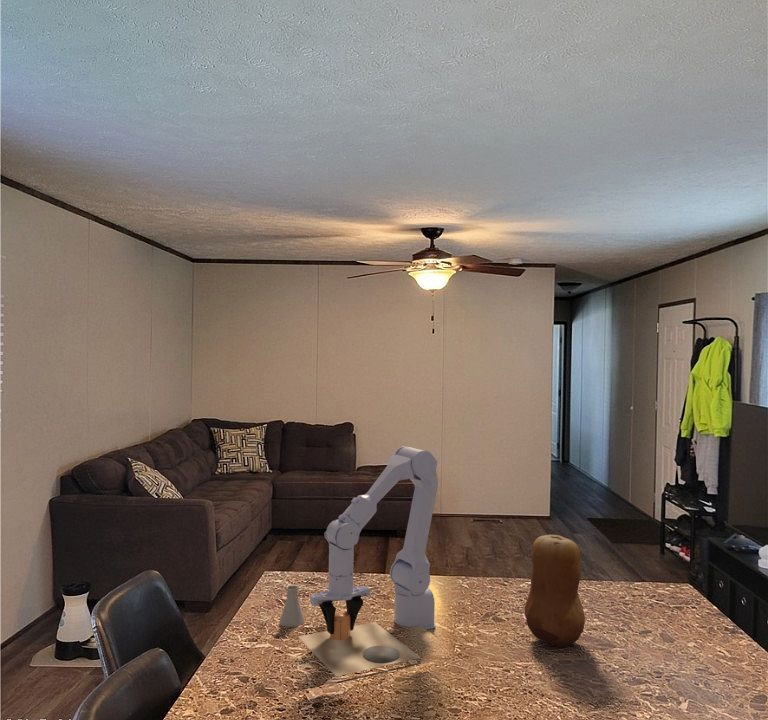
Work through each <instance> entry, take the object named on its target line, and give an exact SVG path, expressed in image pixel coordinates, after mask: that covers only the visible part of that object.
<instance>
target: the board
mask: <svg viewBox="0 0 768 720" xmlns="http://www.w3.org/2000/svg"><path fill="white" fill-rule="evenodd" d="M297 639H299V640H300V641H302V643H303V644H304V645H305V646H306V647H307V648H308V649H309V651H311V652H312V653H313V654H314V656H315V657H317V659H318V660H319V661H320V662H321V663H322V664H323V665H324V666H325V667H326V668H327V669H328V670H329V671H330V672H331V673H332V674H333V675H334V676H335V677H341V676H345V675H350V674H354V673H358V672H364V671H369V670H372V669H377V668H381V667H385V666H390V665H394V664H399V663H404V662H409V661H412V660H417V659H421V656H419V655H418V654H416V653H415V652H414V651H412V649H410V648H409V647H408V646H406V645H405V644H404V643H403V642H401V641H400V640H399V639H398V638H396V637H394V635H392V634H391V633H390V632H389V631H387V630H386V629H385V628H384V627H382V626H380V625H379V624H378V623H377V622H375V621H373V622H372V621H371V622H367V623H361V624H357V625H354V629H353V630H352V631H350V637H349V638H348V639H344V640H335V639H332V638H331V637H330V633H328V632H327V630H326V631H325V630H324V631H320V632H316V633H315V632H314V633H309V634H304V635H299V636H297ZM418 664H420V665H421V662H418V663H413V664H408V665H405V666H399V667H395V668H391V669H386V670H383V671H378V672H375V673H374V672H372V673H370V674H364V675H361V676H355V677H351V678H348V679H344V680H343V679H341V680H338V681H334V683H335V684H337V685H338V684H340V683H344V682H350V681H354V679H355V680H358V678H359V679H362V678H368V677H371V676H376V675H380V674H384V673H388V672H393V671H398V670H402V669H407V668H411V667H415V665H416V666H419V665H418Z"/></svg>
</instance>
